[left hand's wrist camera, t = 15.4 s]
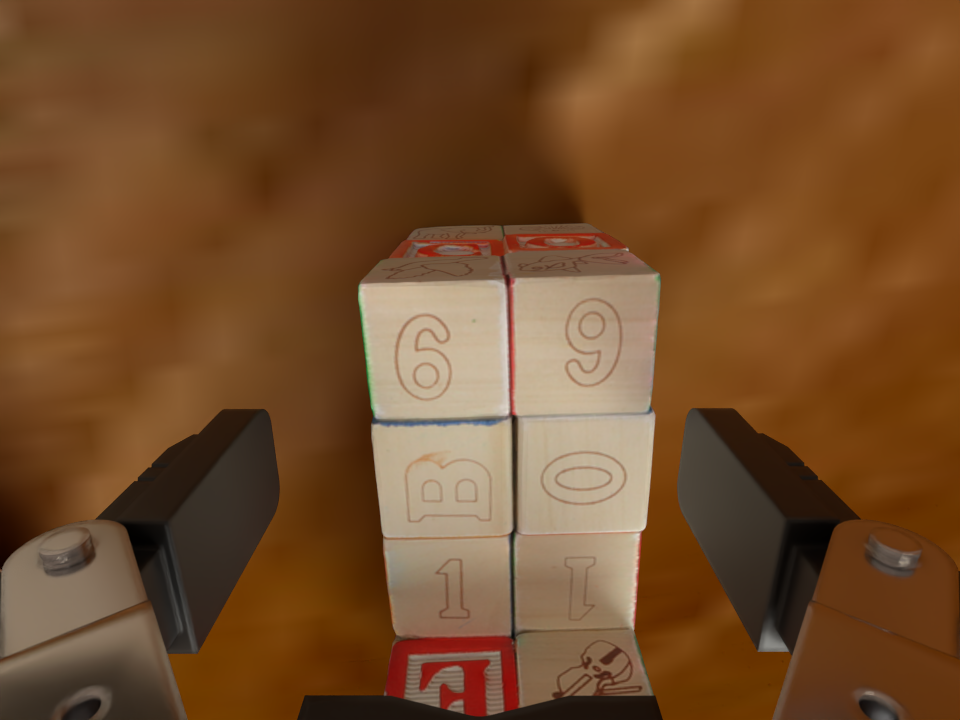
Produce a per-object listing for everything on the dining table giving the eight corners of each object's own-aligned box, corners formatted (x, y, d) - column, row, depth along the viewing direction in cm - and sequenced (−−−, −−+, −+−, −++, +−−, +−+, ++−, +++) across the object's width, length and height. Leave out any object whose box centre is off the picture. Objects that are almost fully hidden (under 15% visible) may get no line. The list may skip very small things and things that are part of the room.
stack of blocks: (409, 224, 20) (312, 315, 9) (589, 219, 20) (740, 306, 8) (438, 689, 27) (407, 1086, 16) (572, 687, 27) (641, 1083, 16)
